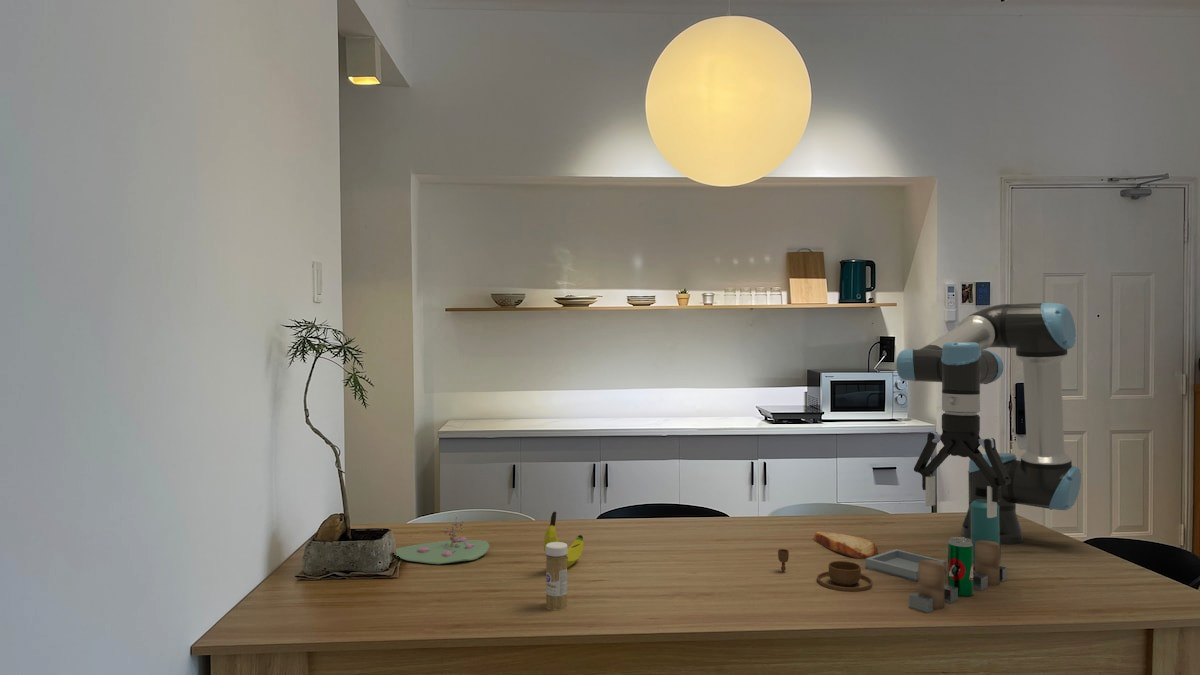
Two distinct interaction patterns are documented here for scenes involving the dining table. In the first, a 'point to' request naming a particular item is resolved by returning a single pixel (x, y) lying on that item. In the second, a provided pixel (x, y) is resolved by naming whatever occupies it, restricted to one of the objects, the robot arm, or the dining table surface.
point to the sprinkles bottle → (556, 576)
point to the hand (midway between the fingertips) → (960, 511)
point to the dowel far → (988, 560)
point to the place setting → (836, 574)
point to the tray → (898, 564)
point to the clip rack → (951, 592)
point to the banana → (550, 536)
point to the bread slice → (847, 544)
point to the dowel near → (931, 581)
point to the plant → (444, 550)
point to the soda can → (961, 565)
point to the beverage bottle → (983, 521)
